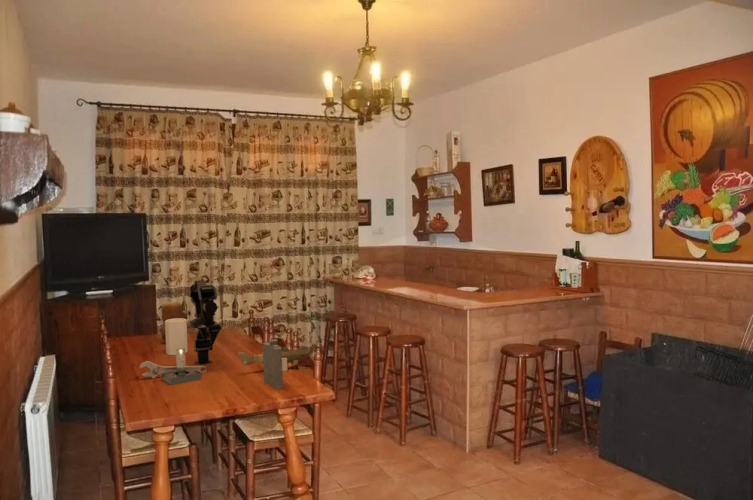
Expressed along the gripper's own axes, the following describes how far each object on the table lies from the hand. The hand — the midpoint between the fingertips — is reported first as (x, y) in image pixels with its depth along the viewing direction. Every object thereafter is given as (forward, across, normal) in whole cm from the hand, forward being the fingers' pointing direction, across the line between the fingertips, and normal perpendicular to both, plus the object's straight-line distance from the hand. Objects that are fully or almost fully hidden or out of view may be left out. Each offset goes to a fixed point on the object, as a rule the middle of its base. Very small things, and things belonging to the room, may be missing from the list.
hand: (208, 343), depth 289 cm
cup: (+13, -47, 0) cm, 49 cm away
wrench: (+13, 0, -17) cm, 22 cm away
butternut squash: (+13, -76, +8) cm, 78 cm away
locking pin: (+13, +9, -17) cm, 23 cm away
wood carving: (+13, +24, +23) cm, 36 cm away
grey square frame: (+13, +9, -17) cm, 23 cm away
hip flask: (+14, +46, +11) cm, 49 cm away
